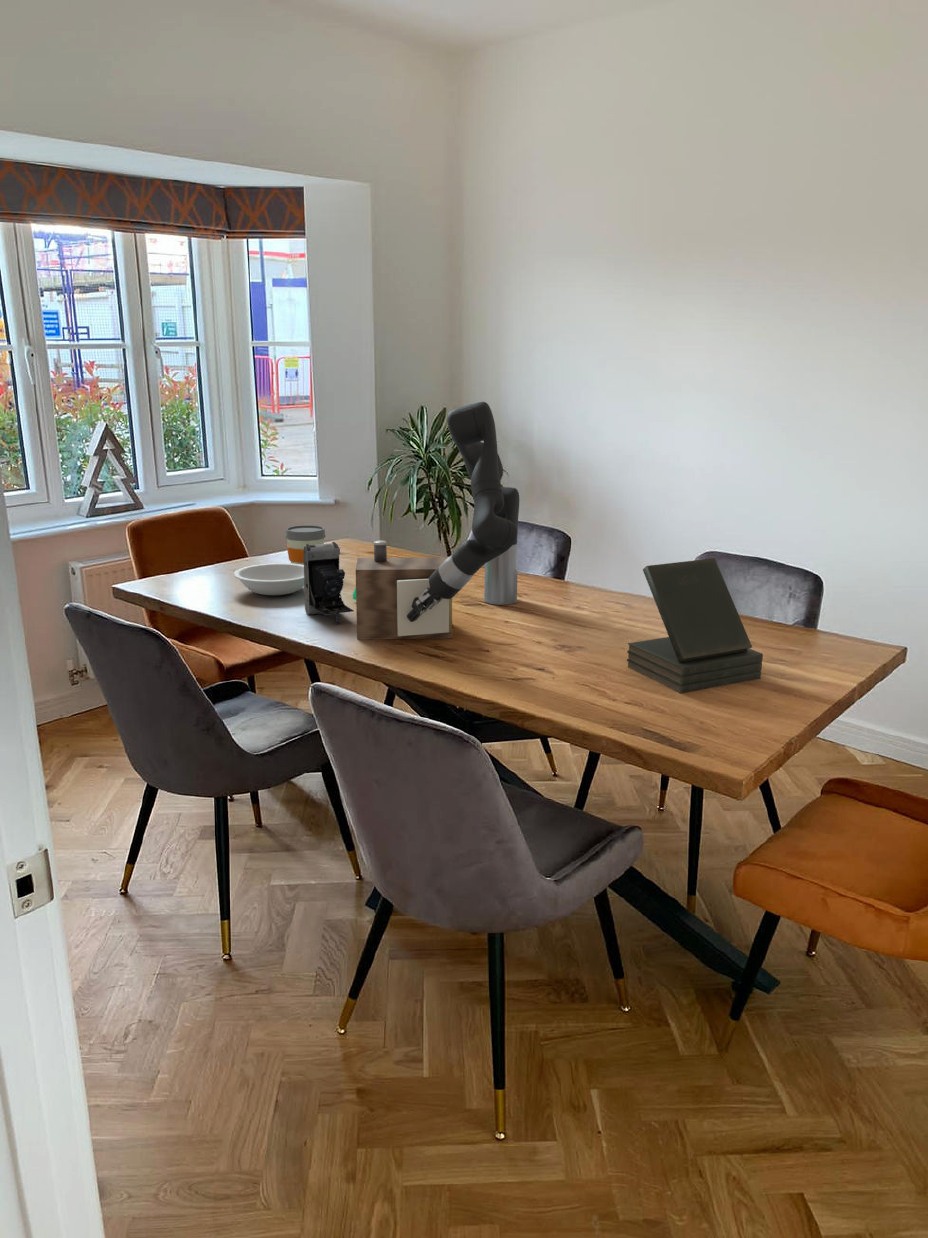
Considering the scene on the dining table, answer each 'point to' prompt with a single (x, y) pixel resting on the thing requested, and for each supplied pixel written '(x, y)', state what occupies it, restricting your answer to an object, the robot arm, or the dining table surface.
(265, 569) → the soup bowl
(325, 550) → the vintage camera
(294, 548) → the reusable coffee cup
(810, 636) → the dining table surface
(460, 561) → the robot arm
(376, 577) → the walnut box
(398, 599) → the side door
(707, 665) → the stack of books
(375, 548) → the film canister
